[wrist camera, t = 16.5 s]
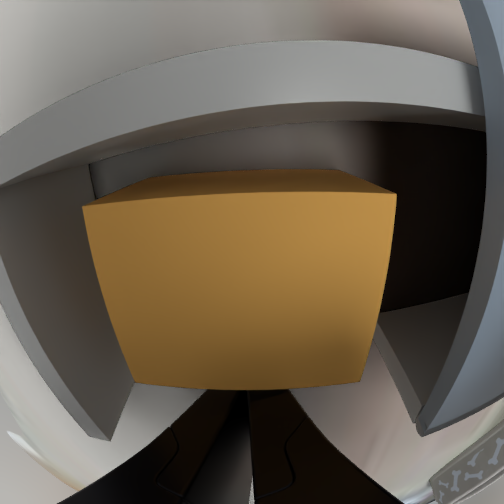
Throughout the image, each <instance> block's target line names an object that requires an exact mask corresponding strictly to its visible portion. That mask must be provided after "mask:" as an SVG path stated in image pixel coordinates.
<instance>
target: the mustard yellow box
mask: <svg viewBox="0 0 504 504" xmlns="http://www.w3.org/2000/svg"><path fill="white" fill-rule="evenodd" d="M396 199H397V194H396V193H393V192H391V191H389V190H387V189H384V188H382V187H380V186H377V185H375V184H373V183H370V182H368V181H365V180H363V179H361V178H358V177H356V176H353V175H350V174H348V173H345V172H343V171H340V170H323V169H270V170H239V171H219V172H204V173H190V174H179V175H168V176H158V177H150V178H147V179H145V180H142V181H140V182H137V183H135V184H132V185H130V186H127V187H125V188H122V189H120V190H118V191H115V192H113V193H111V194H108V195H106V196H104V197H102V198H99V199H97V200H95V201H93V202H91V203H88V204H86V205H84V206H82V209H83V215H84V220H85V225H86V230H87V235H88V240H89V245H90V249H91V253H92V258H93V262H94V266H95V269H96V273H97V277H98V281H99V284H100V288H101V291H102V295H103V298H104V301H105V304H106V308H107V311H108V314H109V317H110V320H111V323H112V326H113V328H114V331H115V334H116V337H117V339H118V342H119V345H120V347H121V350H122V352H123V355H124V357H125V360H126V362H127V365H128V367H129V370H130V372H131V374H132V377H133V379H134V381H135V383H142V384H151V385H159V386H169V387H181V388H195V389H216V390H273V389H294V388H308V387H319V386H329V385H338V384H346V383H354V382H360V380H361V377H362V374H363V371H364V367H365V364H366V361H367V357H368V354H369V350H370V346H371V343H372V339H373V335H374V331H375V327H376V323H377V319H378V315H379V310H380V306H381V301H382V296H383V291H384V286H385V281H386V276H387V270H388V264H389V258H390V251H391V244H392V237H393V229H394V220H395V210H396Z"/></svg>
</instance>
